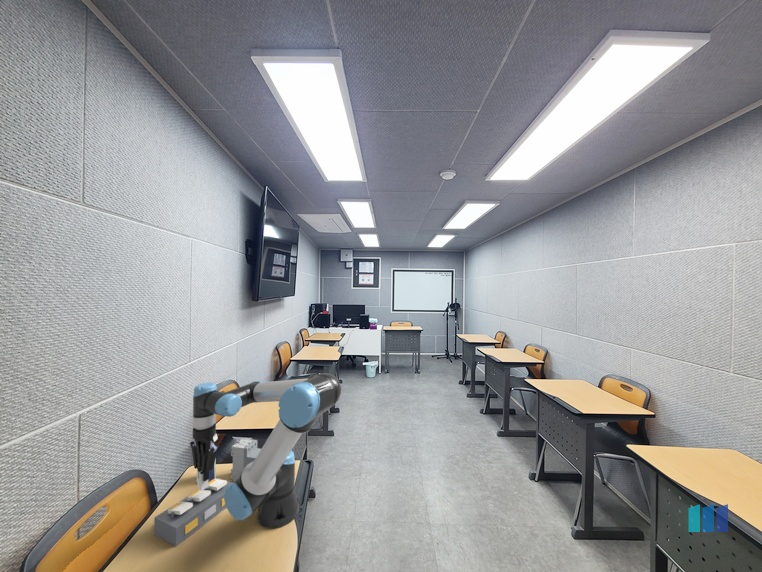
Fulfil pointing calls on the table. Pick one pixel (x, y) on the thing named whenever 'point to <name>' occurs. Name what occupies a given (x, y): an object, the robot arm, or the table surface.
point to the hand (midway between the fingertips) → (203, 488)
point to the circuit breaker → (243, 456)
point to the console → (189, 517)
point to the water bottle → (212, 473)
